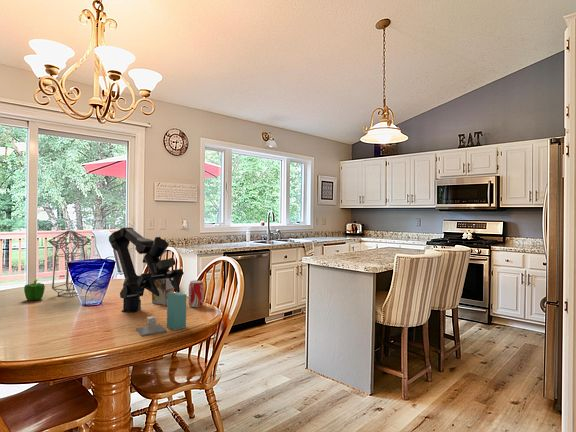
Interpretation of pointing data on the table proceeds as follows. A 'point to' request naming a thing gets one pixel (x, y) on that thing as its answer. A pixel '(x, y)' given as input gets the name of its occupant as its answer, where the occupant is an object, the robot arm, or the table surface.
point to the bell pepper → (34, 291)
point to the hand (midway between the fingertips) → (169, 293)
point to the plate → (145, 332)
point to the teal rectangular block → (176, 311)
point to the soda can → (196, 293)
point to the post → (151, 323)
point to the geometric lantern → (67, 256)
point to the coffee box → (162, 290)
